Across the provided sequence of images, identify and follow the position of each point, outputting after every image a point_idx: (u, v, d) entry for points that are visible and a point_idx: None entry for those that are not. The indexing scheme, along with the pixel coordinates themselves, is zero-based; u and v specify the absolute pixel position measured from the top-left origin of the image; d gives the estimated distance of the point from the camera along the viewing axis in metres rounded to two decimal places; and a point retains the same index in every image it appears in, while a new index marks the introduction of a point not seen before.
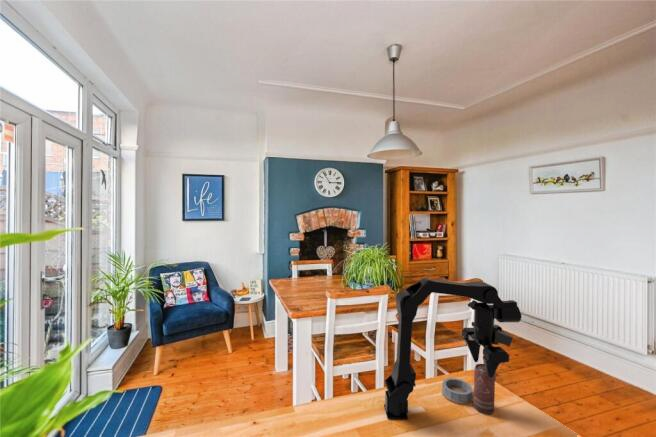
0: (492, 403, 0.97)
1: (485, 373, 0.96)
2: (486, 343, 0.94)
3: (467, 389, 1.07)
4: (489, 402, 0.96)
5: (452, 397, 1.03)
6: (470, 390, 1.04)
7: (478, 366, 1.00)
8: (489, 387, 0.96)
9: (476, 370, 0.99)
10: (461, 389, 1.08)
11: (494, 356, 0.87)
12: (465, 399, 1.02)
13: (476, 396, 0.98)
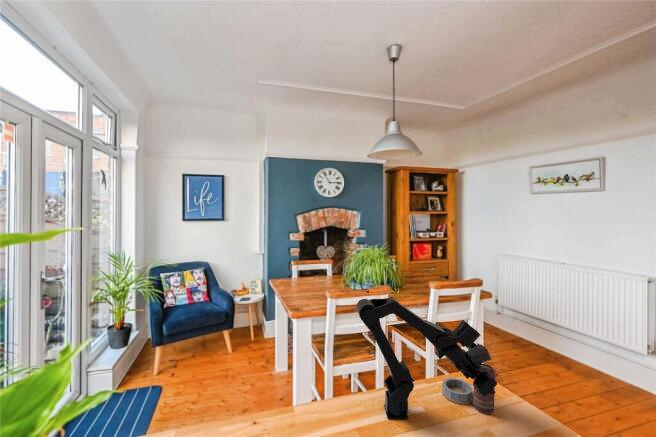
0: (492, 402, 0.97)
1: None
2: (472, 374, 0.96)
3: (467, 389, 1.07)
4: (489, 401, 0.96)
5: (452, 397, 1.03)
6: (470, 390, 1.04)
7: None
8: None
9: None
10: (461, 389, 1.08)
11: (483, 390, 0.89)
12: (465, 399, 1.02)
13: (476, 395, 0.99)
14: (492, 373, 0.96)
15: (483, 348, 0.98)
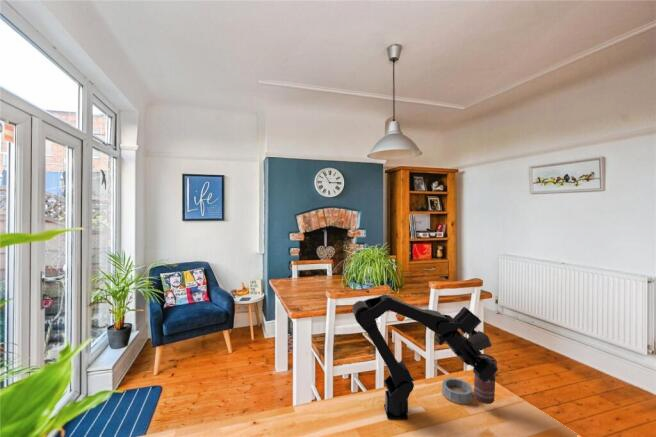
0: (493, 392, 0.96)
1: None
2: (472, 360, 0.95)
3: (467, 389, 1.07)
4: (489, 391, 0.96)
5: (452, 397, 1.03)
6: (470, 390, 1.04)
7: (479, 356, 1.00)
8: None
9: (477, 359, 0.98)
10: (461, 389, 1.08)
11: (484, 376, 0.89)
12: (465, 399, 1.02)
13: (476, 385, 0.98)
14: None
15: (484, 335, 0.98)
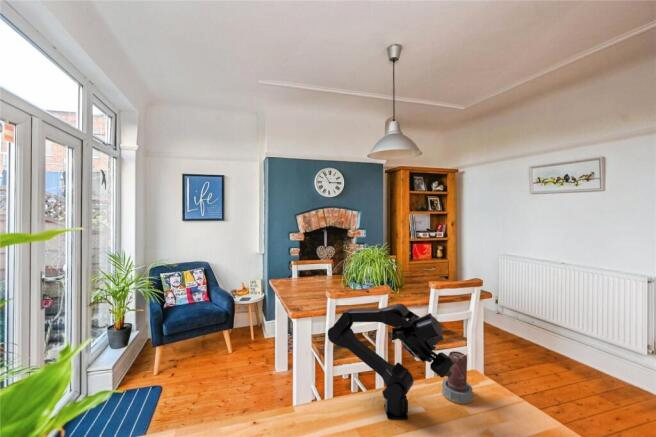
0: None
1: (460, 360, 1.03)
2: (428, 356, 0.94)
3: (467, 389, 1.07)
4: (463, 386, 1.03)
5: (452, 397, 1.03)
6: (470, 390, 1.04)
7: (451, 354, 1.06)
8: (463, 372, 1.03)
9: (451, 358, 1.04)
10: None
11: (442, 371, 0.88)
12: (465, 399, 1.02)
13: (451, 382, 1.04)
14: (465, 359, 1.03)
15: None
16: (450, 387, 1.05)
